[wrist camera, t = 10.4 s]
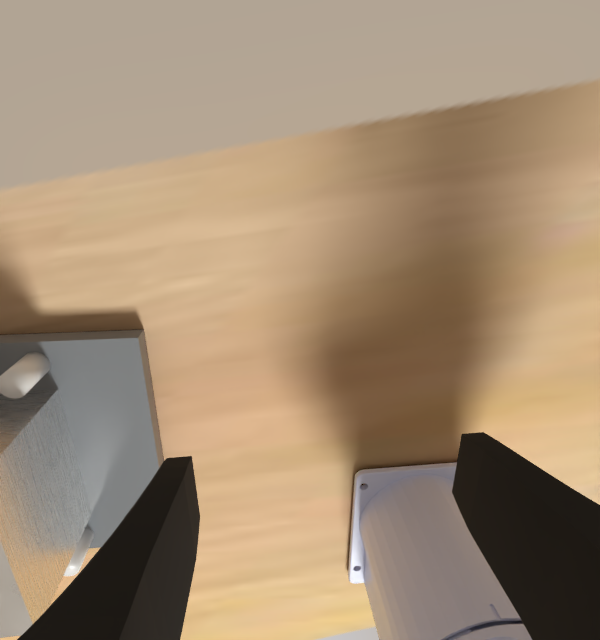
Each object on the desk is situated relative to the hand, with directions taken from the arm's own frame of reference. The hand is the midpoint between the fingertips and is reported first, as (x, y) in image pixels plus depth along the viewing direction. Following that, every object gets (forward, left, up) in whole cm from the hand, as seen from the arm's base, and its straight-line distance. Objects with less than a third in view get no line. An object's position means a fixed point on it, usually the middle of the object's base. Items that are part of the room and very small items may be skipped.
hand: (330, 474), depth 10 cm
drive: (-6, +13, -9) cm, 18 cm away
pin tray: (-6, +13, -10) cm, 18 cm away
